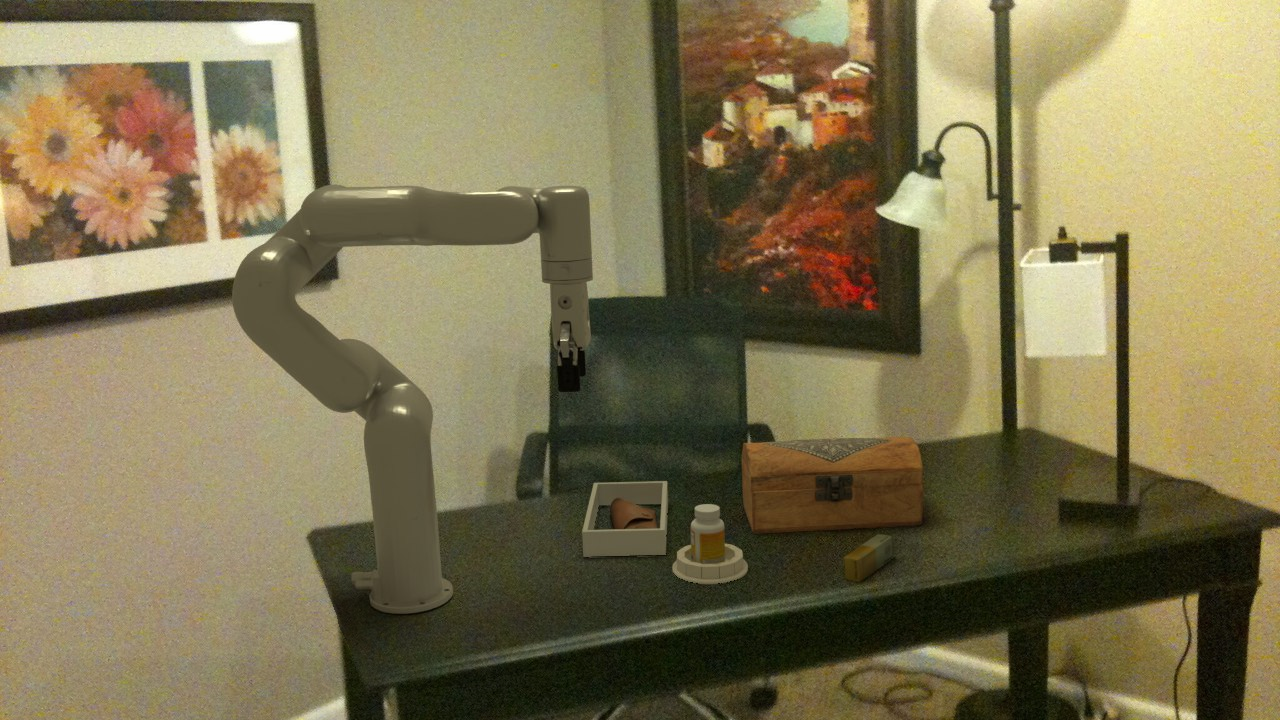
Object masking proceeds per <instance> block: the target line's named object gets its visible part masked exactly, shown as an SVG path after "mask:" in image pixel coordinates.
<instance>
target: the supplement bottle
mask: <svg viewBox="0 0 1280 720" xmlns="http://www.w3.org/2000/svg"><path fill="white" fill-rule="evenodd" d="M720 517H721V508H720V506H718V505H717V504H713V503H711V504H709V503H706V504H705V503H704V504H698V505H696V506H694V519H693V520H692V522H691V523H690V545H691V562H696V563H701V564H717V563H722V562H725V544H726V538H725V536H726V535H725V531H726V530H725V523H724V521H723V520H722V519H721V518H720Z"/></svg>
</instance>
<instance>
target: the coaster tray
mask: <svg viewBox="0 0 1280 720" xmlns="http://www.w3.org/2000/svg"><path fill="white" fill-rule="evenodd" d="M743 555H744V553H743V550H742V549H741V548H739V547H738V546H735V545H734V544H731V543H730V544H729V543H725V562H722V563H717V564H701V563H696V562H691V544H688V545H685V546H683V547H682V548H680V549H679V550H677V551H676V560H675V561H674V562H673V564H672V567H671V568H672V574H673V573H674V574H675V575H676V576H677V577H678V578H677V577H676V576H675V575H674V574H673V575H674V576H675V577H676V578H677V579H679V578H680V579H679V580H681V579H683V580H685V581H684V582H686V581H688V582H687V583H690V582H693V583H692V584H696V583H698V584H697V585H721V583H722V584H728V583H731V582H730V581H732V582H735V581H737V579H738V580H740V579H742V578H744V577H745V575H746V576H747V573H748V572H749V569H748V568H749V565H748V563H747V561H746V560H745V559H744V556H743ZM683 580H682V581H683ZM734 580H735V581H734ZM727 582H728V583H727ZM718 583H720V584H718Z"/></svg>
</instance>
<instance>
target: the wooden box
mask: <svg viewBox="0 0 1280 720" xmlns="http://www.w3.org/2000/svg"><path fill="white" fill-rule="evenodd" d="M923 468H924V467H923V459H922V455H921V450H920V447H919V445H918V443H916V441H915V440H914V439H913V438H912V437H907V436H888V437H859V438H858V437H846V438H845V437H843V438H842V437H840V438H837V437H836V438H835V437H834V438H817V439H816V438H815V439H812V438H811V439H810V438H809V439H808V438H807V439H795V440H794V439H792V440H780V441H779V440H778V441H766V442H765V441H764V442H763V441H762V442H743V445H742V452H741V470H742V473H741V474H742V476H741V477H742V498H743V499H742V500H743V508H744V511H745V514H746V517H747V520H748V523H749V525H750V528H751V531H752V534H754V535H755V534H757V535H758V534H759V535H760V534H776V533H777V534H778V533H793V532H795V533H796V532H798V531H799V532H813V531H814V532H815V531H816V532H817V531H831V530H833V531H834V530H835V531H836V530H837V531H838V530H854V529H855V528H856V529H871V528H872V529H874V528H876V529H877V527H878V528H879V527H880V528H894V527H895V528H898V526H901V527H917V526H916V525H919V526H921V525H922V524H923V509H924V508H923V507H924V505H923V504H924V490H925V489H924V486H925V485H924V469H923ZM799 532H798V533H799Z"/></svg>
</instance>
